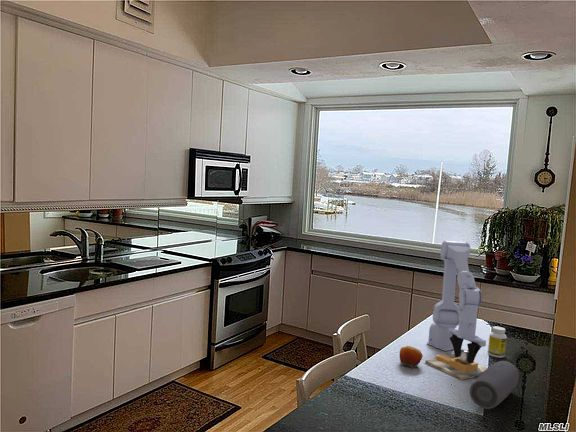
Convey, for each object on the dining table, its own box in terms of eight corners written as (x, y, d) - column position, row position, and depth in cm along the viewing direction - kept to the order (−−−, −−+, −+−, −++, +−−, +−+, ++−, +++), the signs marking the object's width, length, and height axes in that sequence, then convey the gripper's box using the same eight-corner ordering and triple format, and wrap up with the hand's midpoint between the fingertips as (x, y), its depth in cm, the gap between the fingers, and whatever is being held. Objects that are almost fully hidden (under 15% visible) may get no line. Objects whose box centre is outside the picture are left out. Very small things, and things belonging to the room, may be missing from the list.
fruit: (394, 363, 168) (399, 341, 171) (398, 368, 174) (403, 347, 178) (417, 369, 164) (422, 346, 167) (420, 374, 171) (425, 352, 174)
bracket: (433, 359, 176) (433, 352, 176) (445, 356, 180) (445, 349, 179) (465, 373, 164) (465, 366, 164) (477, 370, 168) (478, 363, 168)
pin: (456, 366, 169) (458, 350, 169) (462, 364, 172) (464, 348, 171) (465, 370, 167) (468, 353, 166) (471, 368, 169) (473, 352, 168)
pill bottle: (502, 359, 183) (505, 331, 183) (485, 355, 187) (488, 327, 186) (506, 355, 188) (509, 328, 188) (490, 351, 192) (492, 324, 191)
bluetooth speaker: (489, 384, 159) (492, 355, 159) (519, 393, 154) (522, 363, 153) (465, 406, 142) (469, 374, 141) (498, 418, 136) (502, 384, 135)
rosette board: (425, 362, 174) (425, 359, 174) (453, 356, 183) (454, 353, 183) (464, 381, 160) (464, 377, 160) (493, 373, 169) (493, 370, 169)
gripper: (443, 317, 172) (440, 354, 173) (478, 329, 159) (474, 369, 160) (456, 315, 175) (452, 351, 176) (491, 327, 163) (487, 365, 164)
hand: (463, 359), depth 169 cm, fingers open, 5 cm apart
